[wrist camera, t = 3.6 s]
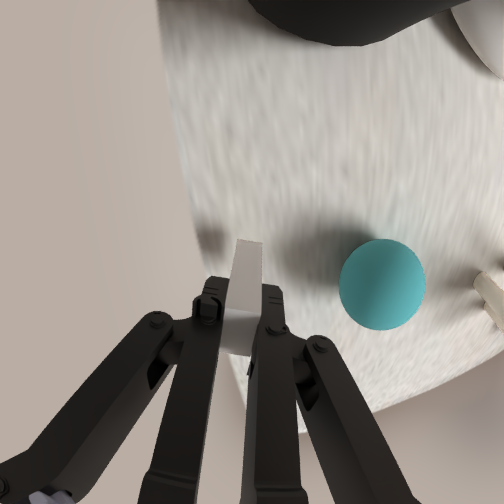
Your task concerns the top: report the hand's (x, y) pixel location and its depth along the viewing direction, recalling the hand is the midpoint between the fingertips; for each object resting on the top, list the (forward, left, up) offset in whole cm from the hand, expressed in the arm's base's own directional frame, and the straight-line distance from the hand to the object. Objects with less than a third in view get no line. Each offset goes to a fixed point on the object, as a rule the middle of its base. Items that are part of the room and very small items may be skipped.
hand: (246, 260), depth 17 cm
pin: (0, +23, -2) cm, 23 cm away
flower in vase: (-23, +17, -2) cm, 29 cm away
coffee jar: (-19, +2, -2) cm, 19 cm away
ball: (0, +9, +1) cm, 9 cm away
